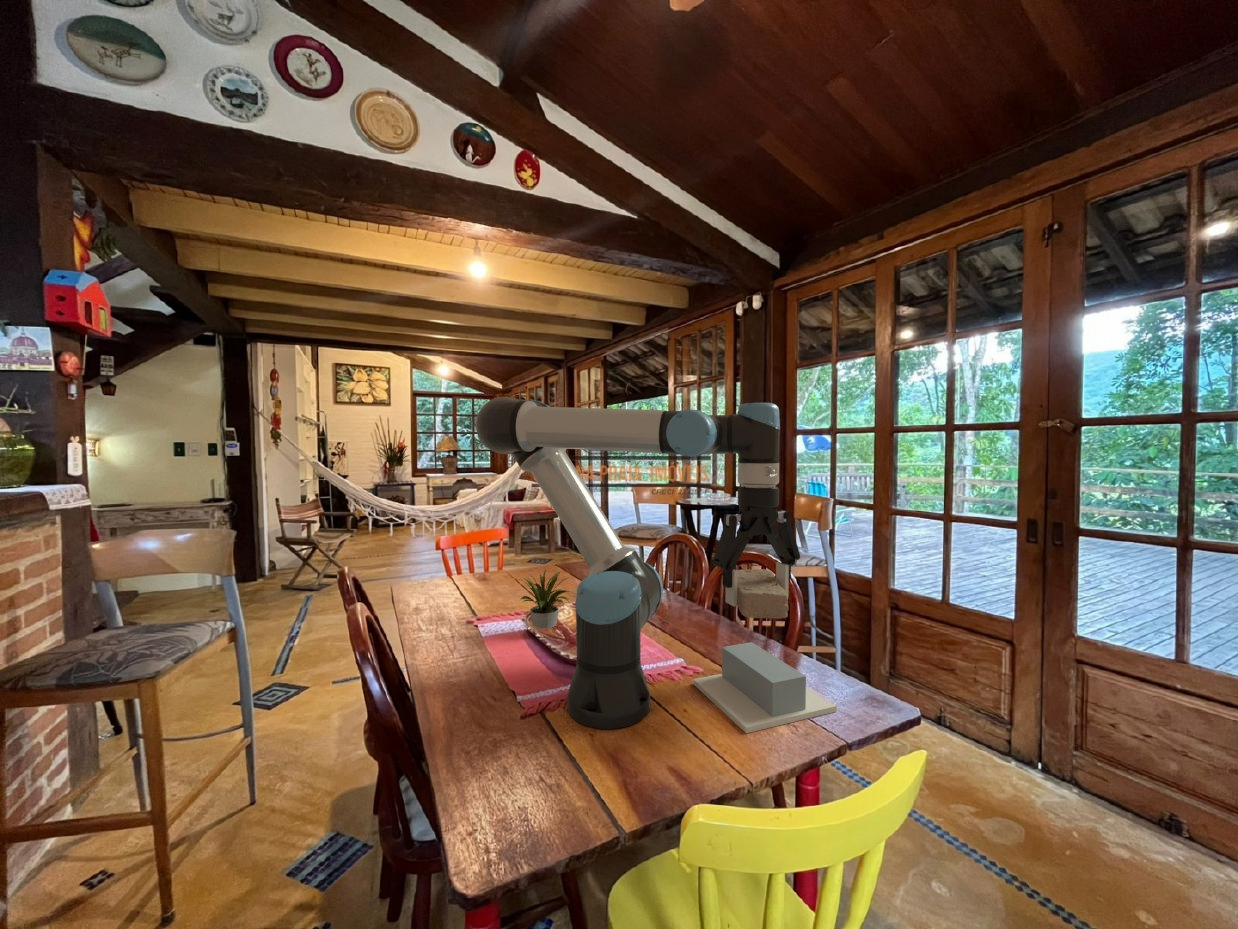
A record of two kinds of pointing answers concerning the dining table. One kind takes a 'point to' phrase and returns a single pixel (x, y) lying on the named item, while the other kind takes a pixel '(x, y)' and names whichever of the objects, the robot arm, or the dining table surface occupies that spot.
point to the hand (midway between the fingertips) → (757, 600)
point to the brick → (761, 595)
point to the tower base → (751, 709)
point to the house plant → (545, 602)
